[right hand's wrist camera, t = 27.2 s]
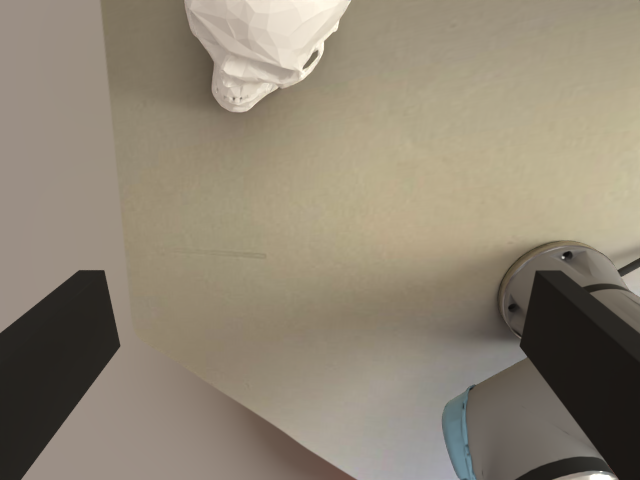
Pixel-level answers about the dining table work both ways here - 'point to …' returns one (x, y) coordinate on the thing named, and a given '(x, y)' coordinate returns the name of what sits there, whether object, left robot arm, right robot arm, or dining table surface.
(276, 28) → the skull
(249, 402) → the dining table surface
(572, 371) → the right robot arm
